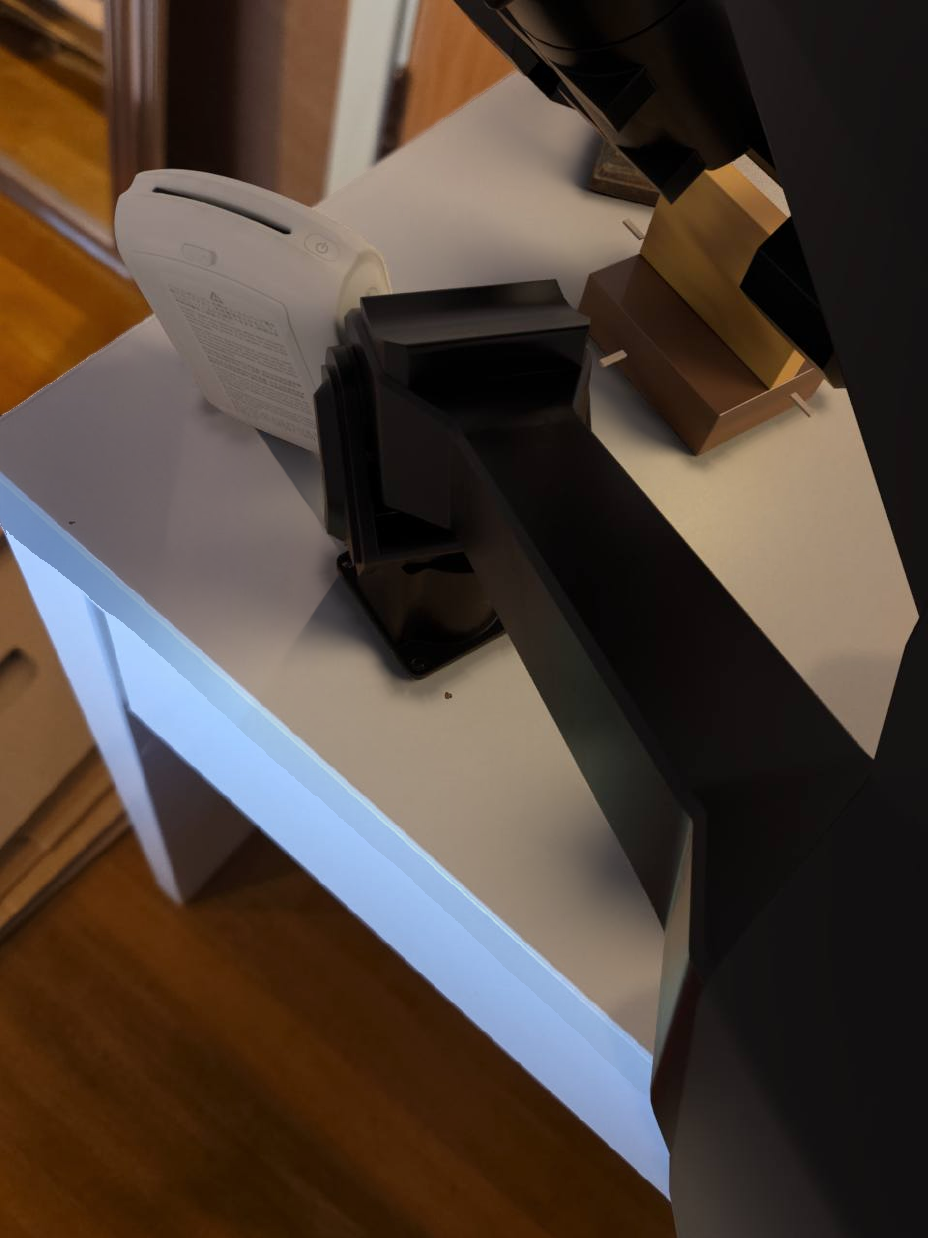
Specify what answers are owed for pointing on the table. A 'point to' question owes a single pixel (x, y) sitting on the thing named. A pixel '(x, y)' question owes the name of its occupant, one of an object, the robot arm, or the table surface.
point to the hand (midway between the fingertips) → (771, 211)
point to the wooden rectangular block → (721, 264)
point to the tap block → (681, 356)
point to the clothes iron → (620, 178)
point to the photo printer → (246, 289)
